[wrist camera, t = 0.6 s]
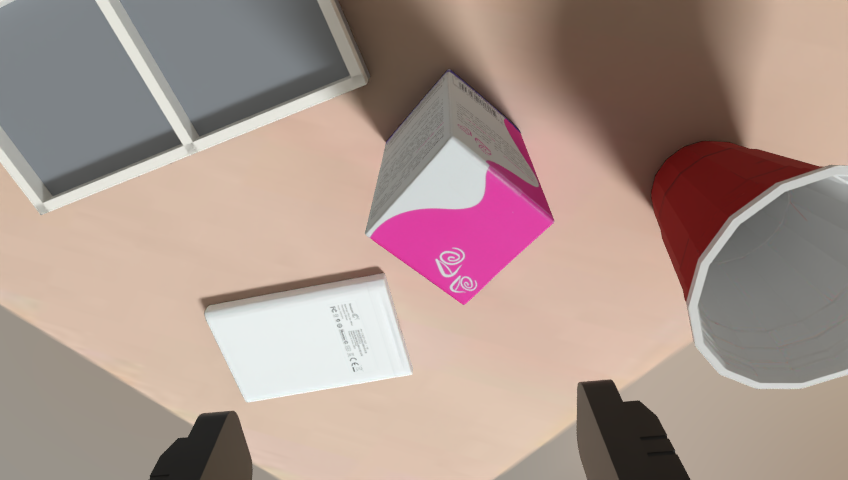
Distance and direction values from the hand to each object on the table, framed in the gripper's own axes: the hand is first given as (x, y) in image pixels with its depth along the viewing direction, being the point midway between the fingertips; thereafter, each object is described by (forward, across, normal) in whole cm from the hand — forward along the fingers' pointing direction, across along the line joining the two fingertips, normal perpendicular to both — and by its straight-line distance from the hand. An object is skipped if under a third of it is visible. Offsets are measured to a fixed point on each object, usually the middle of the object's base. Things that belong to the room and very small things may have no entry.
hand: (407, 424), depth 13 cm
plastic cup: (+22, -17, +4) cm, 28 cm away
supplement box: (+22, -2, 0) cm, 23 cm away
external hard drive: (+24, +9, +13) cm, 28 cm away
